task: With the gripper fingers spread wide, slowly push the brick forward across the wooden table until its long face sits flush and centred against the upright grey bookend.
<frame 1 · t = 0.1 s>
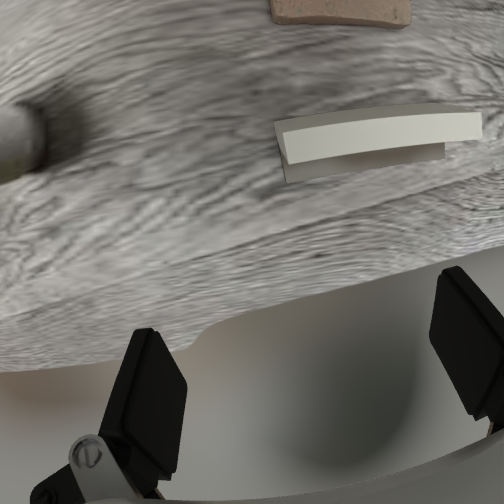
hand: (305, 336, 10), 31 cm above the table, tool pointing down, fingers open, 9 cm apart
grey bookend: (363, 119, 35), on the table
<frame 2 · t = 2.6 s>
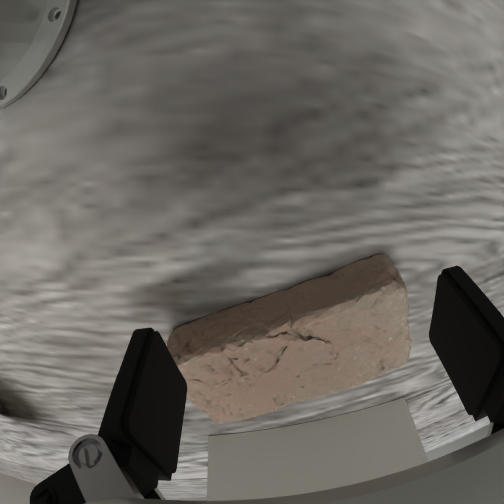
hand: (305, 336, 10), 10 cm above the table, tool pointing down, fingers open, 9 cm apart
grey bookend: (308, 428, 31), on the table
brick: (289, 325, 24), on the table
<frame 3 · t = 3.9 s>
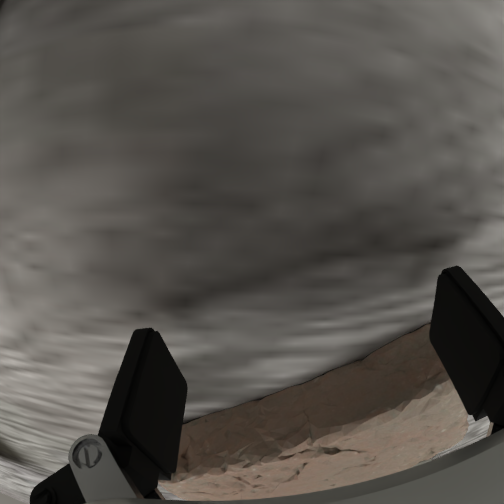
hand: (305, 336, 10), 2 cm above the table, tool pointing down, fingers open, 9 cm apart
brick: (314, 411, 17), on the table
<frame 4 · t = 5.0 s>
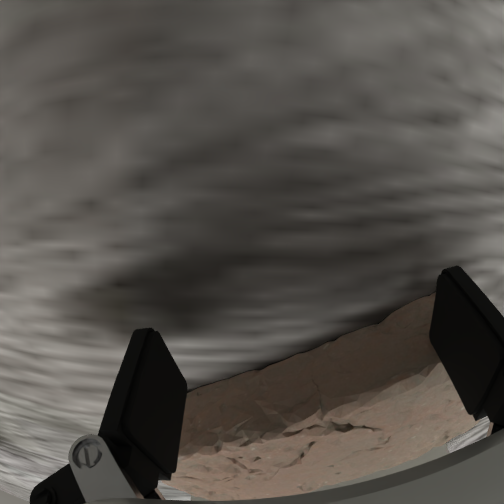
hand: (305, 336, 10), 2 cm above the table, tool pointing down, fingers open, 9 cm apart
grey bookend: (321, 478, 22), on the table
brick: (318, 389, 16), on the table
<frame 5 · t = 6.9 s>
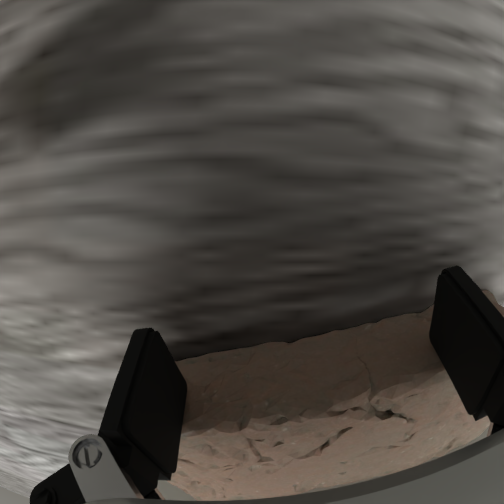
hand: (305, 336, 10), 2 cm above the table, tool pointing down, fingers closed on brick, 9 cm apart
grey bookend: (321, 440, 17), on the table
brick: (332, 379, 15), on the table, touching grey bookend, gripper
when the fingers open (2 cm above the table, at t = 8.2 s): brick stays where it is, on the table.
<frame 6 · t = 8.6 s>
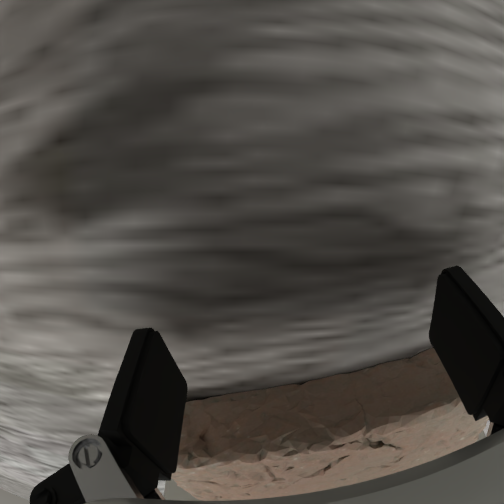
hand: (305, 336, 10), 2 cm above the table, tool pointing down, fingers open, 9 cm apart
grey bookend: (324, 457, 19), on the table
brick: (334, 408, 16), on the table
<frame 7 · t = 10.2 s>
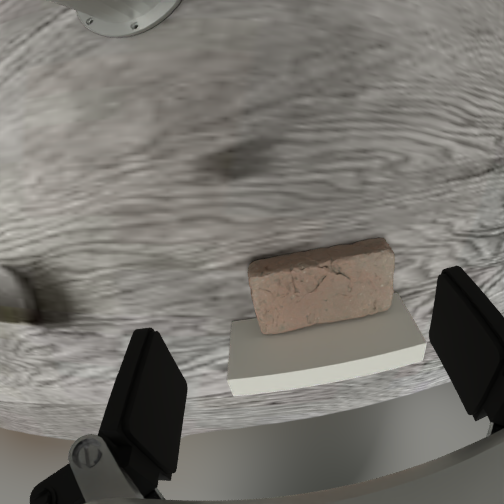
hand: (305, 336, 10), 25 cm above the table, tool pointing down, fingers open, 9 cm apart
grey bookend: (317, 317, 41), on the table
brick: (320, 274, 39), on the table
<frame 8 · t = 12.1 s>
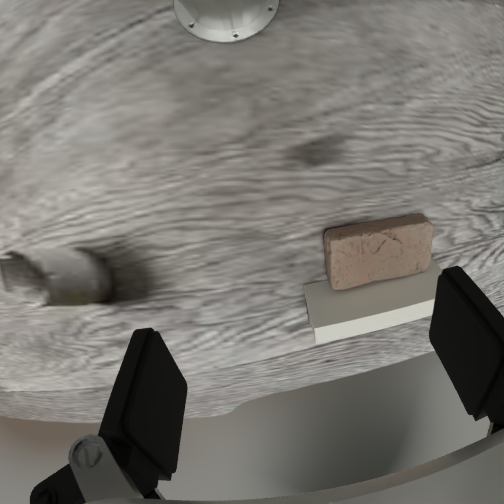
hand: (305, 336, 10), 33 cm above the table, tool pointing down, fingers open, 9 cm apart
grey bookend: (371, 278, 49), on the table
brick: (375, 242, 47), on the table
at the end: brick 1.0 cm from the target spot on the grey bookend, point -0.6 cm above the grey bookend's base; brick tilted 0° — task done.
